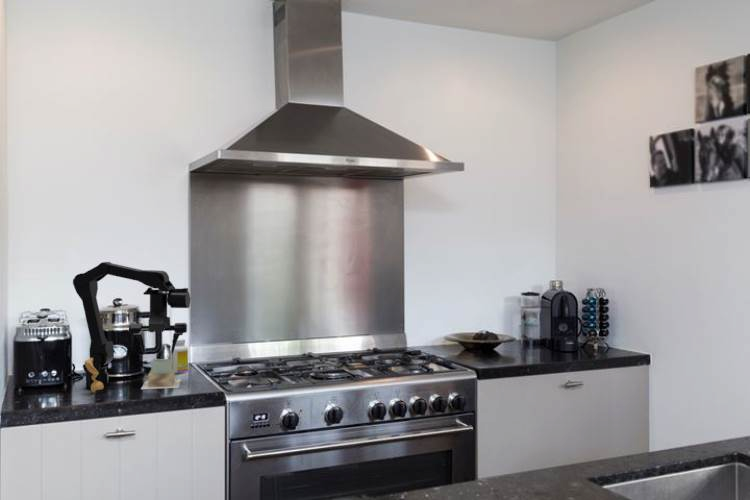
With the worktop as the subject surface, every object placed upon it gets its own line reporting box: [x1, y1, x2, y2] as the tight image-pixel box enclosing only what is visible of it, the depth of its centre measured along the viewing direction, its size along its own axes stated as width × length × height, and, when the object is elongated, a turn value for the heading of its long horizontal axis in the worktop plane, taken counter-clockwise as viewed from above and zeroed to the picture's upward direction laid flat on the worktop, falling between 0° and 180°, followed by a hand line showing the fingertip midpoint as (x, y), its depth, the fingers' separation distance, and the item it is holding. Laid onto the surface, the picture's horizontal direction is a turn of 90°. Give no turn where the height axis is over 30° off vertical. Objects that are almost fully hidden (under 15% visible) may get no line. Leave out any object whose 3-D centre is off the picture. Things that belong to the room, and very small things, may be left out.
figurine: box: [84, 357, 105, 393], centre depth 237 cm, size 8×6×12 cm
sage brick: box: [150, 358, 172, 374], centre depth 245 cm, size 6×6×4 cm
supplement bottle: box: [169, 338, 189, 374], centre depth 271 cm, size 7×7×13 cm
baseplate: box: [140, 378, 182, 390], centre depth 245 cm, size 12×14×2 cm
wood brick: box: [147, 370, 176, 387], centre depth 245 cm, size 8×8×4 cm
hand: (158, 353), depth 246 cm, fingers open, 9 cm apart
